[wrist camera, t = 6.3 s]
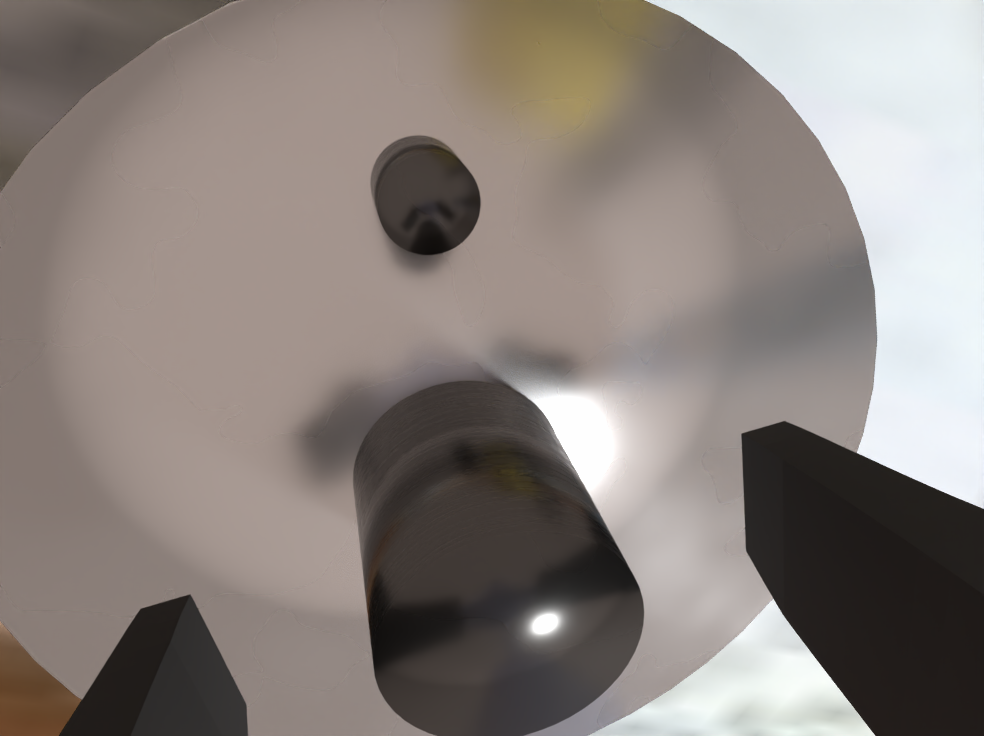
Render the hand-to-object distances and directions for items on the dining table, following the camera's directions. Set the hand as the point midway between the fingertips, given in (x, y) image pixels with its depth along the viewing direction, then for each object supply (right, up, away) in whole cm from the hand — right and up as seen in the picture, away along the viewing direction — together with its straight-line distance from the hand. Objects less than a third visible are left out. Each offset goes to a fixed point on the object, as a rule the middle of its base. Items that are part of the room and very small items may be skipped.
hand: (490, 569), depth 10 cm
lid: (-1, +1, +3) cm, 3 cm away
